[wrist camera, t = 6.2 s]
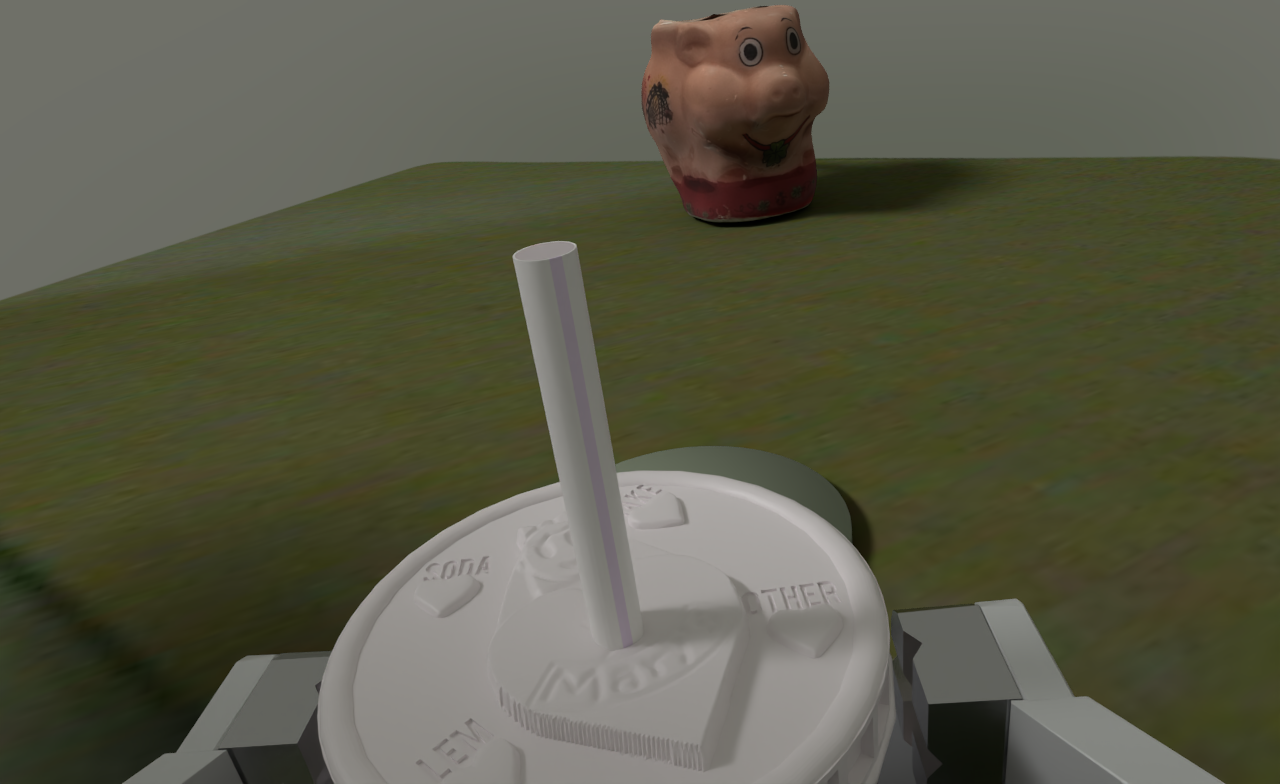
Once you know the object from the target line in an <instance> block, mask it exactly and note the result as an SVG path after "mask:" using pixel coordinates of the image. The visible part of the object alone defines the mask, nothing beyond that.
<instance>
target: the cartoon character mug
mask: <svg viewBox="0 0 1280 784" xmlns="http://www.w3.org/2000/svg"><path fill="white" fill-rule="evenodd" d="M651 44H652V55H651V59H650V61H649V64H648V66H647V68H646V70H645V73H644V77H643V82H642V109H643V114H644V117H645V121H646V124H647V127H648V130H649V132H650V134H651V136H652V137H653V139H654V140H655V142H656V144H657V146H658V149H659V151H660V154H661V156H662V159H663V161H664V163H665V165H666V167H667V169H668V171H669V174H670V176H671V178H672V181H673V182H674V184H675V186H676V187H677V189H678V191H679V193H680V196H681V198H682V202H683V206H684V208H685V210H686V212H687V213H688V214H689V215H690V216H692V217H696V218H699V219H702V220H705V221H710V222H743V221H753V220H759V219H765V218H769V217H774V216H779V215H783V214H787V213H791V212H794V211H797V210H800V209H803V208H805V207H806V206H808V205H809V204H810V203H811V201H812V199H813V196H814V193H815V188H816V182H817V170H816V161H815V154H814V149H813V144H812V136H811V129H812V124H813V121H814V119H815V117H816V116H817V115H818V114H820V113H821V112H822V111H823V110H824V109H825V107H826V104H827V101H828V94H829V80H828V75H827V73H826V71H825V69H824V68H823V66H822V65H821V63H820V62H819V61H818V59H817V58H816V57H815V55H814V54H813V53H812V51H811V50H810V48H809V46H808V45H807V43H806V41H805V38H804V36H803V34H802V30H801V26H800V19H799V14H798V12H797V10H796V9H795V8H793V7H792V6H786V5H775V6H760V7H753V8H748V9H743V10H736V11H734V12H729V13H724V14H719V15H715V14H713V15H711V16H709V17H705V18H701V19H695V20H687V21H670V20H660V21H659V23H657V24H656V25H654V27H653V29H652V33H651Z"/></svg>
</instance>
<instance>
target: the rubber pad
mask: <svg viewBox="0 0 1280 784" xmlns="http://www.w3.org/2000/svg"><path fill="white" fill-rule="evenodd" d="M615 467H616V473H619V472H630V471H685V472H693V473H701V474H709V475H717V476H723V477H726V478H730V479H734V480H738V481H742V482H746V483H750V484H754V485H758V486H761V487H763V488H765V489H768V490H770V491H773V492H775V493H777V494H780V495H782V496H785V497H787V498H790V499H792V500H794V501H796V502H797V503H799V504H801V505H802V506H804V507H806V508H808V509H810V510H811V511H813V512H815V513H816V514H817V515H819V516H820V517H822V518H823V519H825V520H826V521H828V522H829V523H830V524H831V525H832V526H834V527H835V528H836V529H837V530H838V531H840V532H841V533H842V534H843V535H844V536H845V537H846V538H847V539H848V540H849V541H850V542H851V543H852V526H851V519H850V514H849V511H848V508H847V506H846V503H845V501H844V500H843V498H842V497H841V495H840V493H839V492H838V491H837V490H836V489H835V488H834V487H833V485H832V484H831V483H830V482H829V481H827V480H826V479H825V478H824V477H822V476H821V475H820V474H818V473H817V472H815V471H813V470H812V469H810V468H808V467H807V466H805V465H803V464H800V463H798V462H796V461H794V460H792V459H789V458H786V457H783V456H780V455H777V454H773V453H769V452H764V451H760V450H754V449H748V448H740V447H728V446H700V447H687V448H678V449H671V450H665V451H660V452H655V453H651V454H647V455H643V456H639V457H636V458H632V459H629V460H626V461H623V462H621V463H618V464H616V465H615Z"/></svg>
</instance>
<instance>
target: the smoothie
mask: <svg viewBox="0 0 1280 784" xmlns="http://www.w3.org/2000/svg"><path fill="white" fill-rule="evenodd" d="M513 261H514V266H515V270H516V275H517V280H518V285H519V289H520V294H521V299H522V304H523V308H524V313H525V318H526V323H527V328H528V332H529V337H530V342H531V347H532V351H533V356H534V361H535V366H536V370H537V375H538V380H539V385H540V389H541V394H542V399H543V404H544V408H545V413H546V418H547V423H548V427H549V432H550V437H551V442H552V446H553V451H554V456H555V461H556V466H557V470H558V475H559V480H560V482H558V483H555V484H552V485H548V486H545V487H542V488H538V489H535V490H532V491H528V492H525V493H522V494H518V495H516V496H514V497H511V498H509V499H506V500H504V501H502V502H499V503H497V504H494V505H492V506H490V507H487V508H485V509H482V510H480V511H478V512H476V513H474V514H473V515H471V516H469V517H467V518H465V519H463V520H462V521H460V522H458V523H456V524H454V525H452V526H451V527H449V528H447V529H445V530H443V531H442V532H440V533H439V534H438V535H436V536H435V537H433V538H432V539H430V540H429V541H428V542H426V543H425V544H423V545H422V546H421V547H419V548H418V549H416V550H415V551H414V552H412V553H411V554H409V555H408V556H407V557H406V558H405V559H404V560H403V561H401V562H400V563H399V564H398V565H397V566H396V567H395V568H394V569H393V570H392V571H391V572H390V573H389V574H387V575H386V576H385V577H384V578H383V579H382V580H381V581H380V582H379V583H378V584H377V585H376V586H375V587H374V589H373V590H372V591H371V592H370V594H369V595H368V596H367V597H366V598H365V599H364V601H363V602H362V603H361V604H360V606H359V607H358V608H357V610H356V611H355V612H354V614H353V615H352V616H351V618H350V619H349V621H348V623H347V624H346V626H345V628H344V629H343V631H342V633H341V634H340V636H339V638H338V640H337V642H336V644H335V646H334V648H333V650H332V653H331V655H330V657H329V660H328V663H327V666H326V669H325V672H324V675H323V678H322V683H321V688H320V693H319V700H318V714H317V720H318V734H319V741H320V745H321V749H322V754H323V758H324V761H325V763H326V766H327V768H328V771H329V773H330V776H331V778H332V781H333V783H334V784H877V782H878V778H879V775H880V771H881V768H882V765H883V761H884V758H885V754H886V751H887V748H888V744H889V741H890V737H891V734H892V731H893V727H894V724H895V721H896V707H895V692H894V677H893V663H892V657H891V654H890V652H889V649H890V634H889V623H888V615H887V610H886V606H885V602H884V598H883V595H882V593H881V590H880V588H879V585H878V582H877V580H876V578H875V576H874V574H873V573H872V571H871V569H870V567H869V566H868V564H867V562H866V561H865V560H864V558H863V557H862V556H861V554H860V553H859V552H858V550H857V549H856V548H855V547H854V545H853V544H852V543H851V542H850V541H849V540H848V539H847V538H846V537H845V536H844V535H843V534H842V533H841V532H840V531H838V530H837V529H836V528H835V527H834V526H832V525H831V524H830V523H829V522H828V521H826V520H825V519H823V518H822V517H820V516H819V515H817V514H816V513H815V512H813V511H811V510H810V509H808V508H806V507H804V506H802V505H801V504H799V503H797V502H796V501H794V500H792V499H790V498H787V497H785V496H782V495H780V494H777V493H775V492H773V491H770V490H768V489H765V488H763V487H761V486H758V485H754V484H750V483H746V482H742V481H738V480H734V479H730V478H726V477H723V476H717V475H709V474H701V473H693V472H685V471H630V472H619V473H616V467H615V462H614V456H613V450H612V445H611V439H610V433H609V428H608V422H607V416H606V410H605V405H604V399H603V393H602V388H601V382H600V376H599V371H598V365H597V359H596V353H595V348H594V342H593V336H592V331H591V325H590V319H589V314H588V308H587V302H586V296H585V291H584V285H583V279H582V274H581V268H580V262H579V257H578V251H577V246H576V244H575V243H572V242H566V241H556V242H547V243H541V244H536V245H532V246H529V247H526V248H523V249H521V250H519V251H517V252H516V253H515V254H514V255H513Z"/></svg>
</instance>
